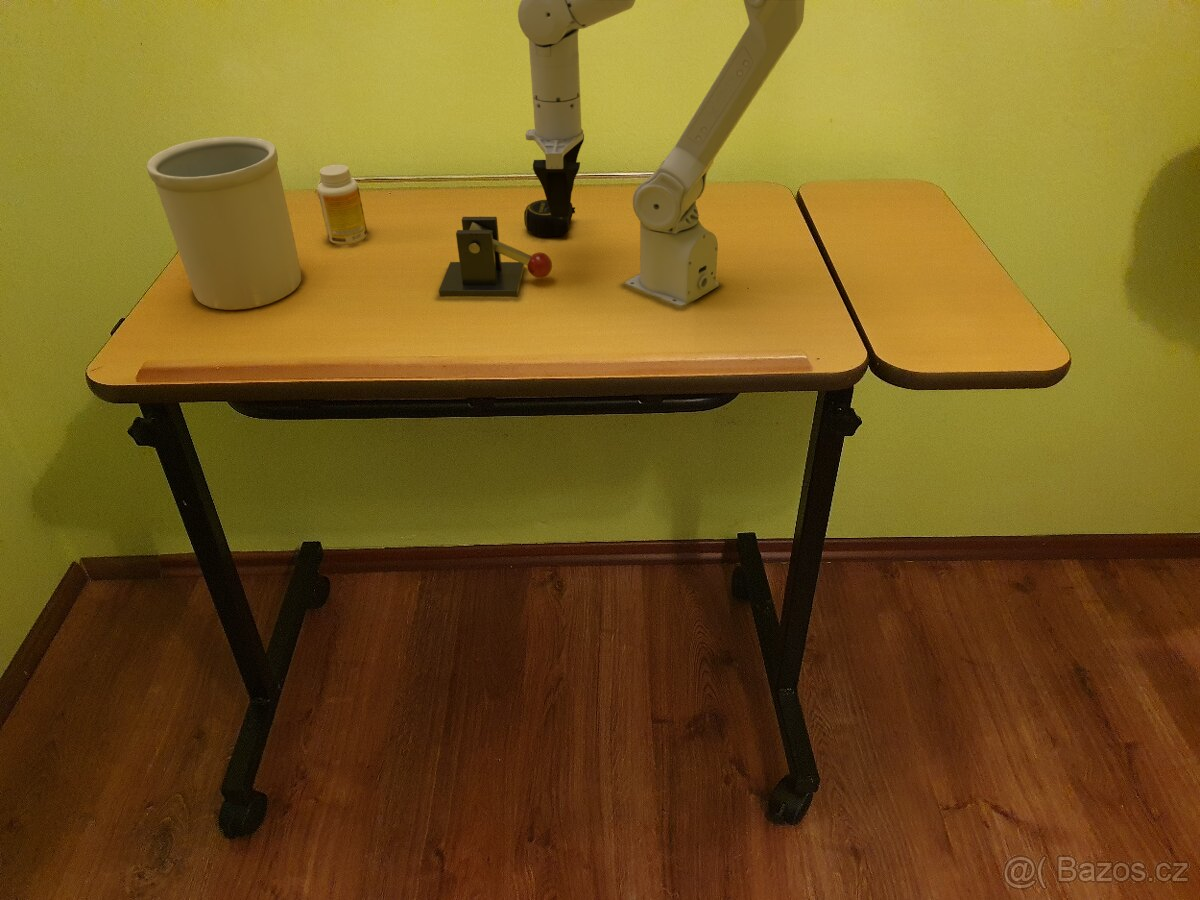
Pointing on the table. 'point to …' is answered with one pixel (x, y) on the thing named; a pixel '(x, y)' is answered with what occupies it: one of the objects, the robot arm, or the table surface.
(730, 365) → the table surface
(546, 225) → the tape measure
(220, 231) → the utensil holder
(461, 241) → the switch bracket
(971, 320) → the table surface
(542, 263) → the lever
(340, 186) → the supplement bottle
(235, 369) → the table surface
